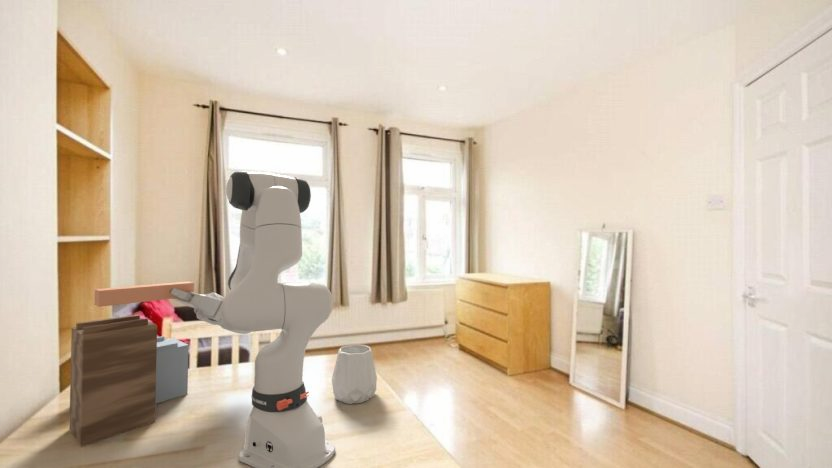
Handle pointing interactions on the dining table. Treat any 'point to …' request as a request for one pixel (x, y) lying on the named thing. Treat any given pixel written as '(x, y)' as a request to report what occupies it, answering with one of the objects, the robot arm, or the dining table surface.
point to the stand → (112, 377)
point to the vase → (354, 374)
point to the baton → (139, 293)
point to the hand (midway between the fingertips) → (167, 289)
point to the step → (171, 369)
